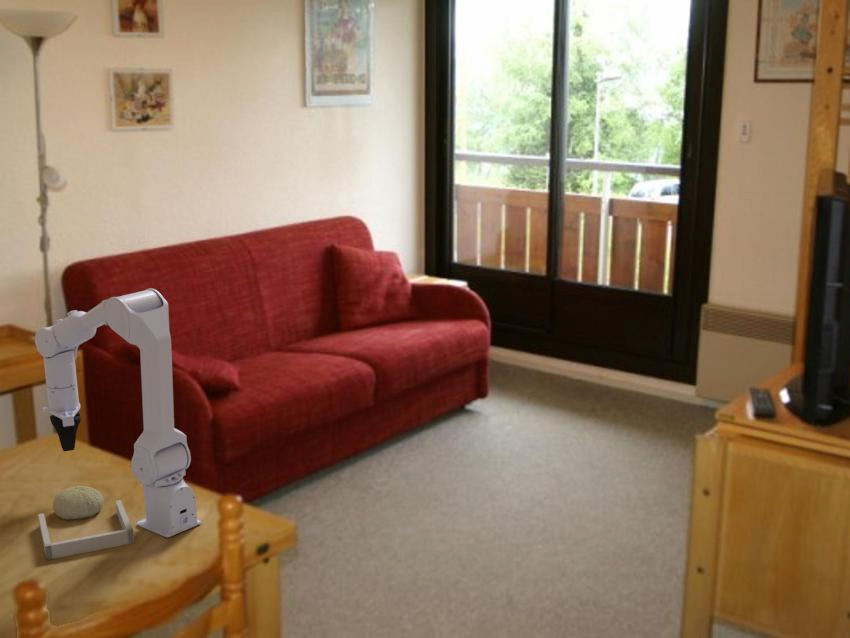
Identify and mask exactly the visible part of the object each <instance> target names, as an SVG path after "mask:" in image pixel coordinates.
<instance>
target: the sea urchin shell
mask: <svg viewBox="0 0 850 638" xmlns="http://www.w3.org/2000/svg"><path fill="white" fill-rule="evenodd" d="M104 502H105V501H104V496H103V494H102V493H101V492H100V491H99V490H98V489H96V488H93V487H91V486H85V485H77V486H71V487H67V488H65V489H63V490H61V491H60V492H58V493H57V494H56V495H55V496H54V499H53V502H52V510H53V511H54V513H55V514H56V516H57V517H59V518H60V519H62V520H78V519H79V520H80V519H84V518H91V517H93V516H94V515H96V514H97V513H99V512H100V511H101V509H102V508H103V506H104Z"/></svg>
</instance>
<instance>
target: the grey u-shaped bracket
mask: <svg viewBox="0 0 850 638" xmlns="http://www.w3.org/2000/svg"><path fill="white" fill-rule="evenodd" d="M115 511H116V513H115V514H116V516H117V518H118V520H119V523H120V525H121V529H119V530H114V531H108V532H104V533H100V534H98V533H97V534H93V535H88V536H83V537H82V536H81V537H78V538H77V537H76V538H72V539H66V540H61V541H55V542H51V539H50V534H49V528H48V526H47V521H46V517H45V514H44V513H38V514H37V516H38V517H37V518H38V524H39V530H40V536H41V540H42V544H43V548H44V549H43V550H44V555H45V558H46V560H47V561H48V560H53V559H58V558H63V557H67V556H75V555H79V554H85V553H88V552H89V553H90V552H94V551H95V552H96V551H99V550H105V549H111V548H116V547H120V546H127V545H131V544H135V535H134V534H135V533H134V529H133V527H132V525H131V521H130V519H129V517H128V514H127V512H126V510H125V507H124V505H123V501H122V499H118V500H115Z"/></svg>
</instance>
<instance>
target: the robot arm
mask: <svg viewBox="0 0 850 638" xmlns="http://www.w3.org/2000/svg"><path fill="white" fill-rule="evenodd" d="M169 314H170V313H169V303H168V300H166V299H165V297H164V296H163V295H162V294H161V293H160V292H159V290H157V289H156V288H152V287H151V288H147V289H145V290H141V291H137V292H133V293H128V294H123V295H121V296H112V297H109V298H108V299H104V300H102V301H101V302H100V303H99V304H97V305H96V306H95V307H93V308H91V309H90V310H88V311H87V312H86V311H83V310H79V311H78V310H77V309H75V310H70V311H69V312H67V314H66V315H67V317H66V316H65V318H60V319H57V320H56V319H55V321H54V324H53V325H51V326H47V327H40V328H39V329H38V330H37V331H36V333H35V336H34V342H35V347H36V349H37V352H38V353H39V355H40V356H42V357H43V365H44V366H43V367H44V374H45V375H44V376H45V385H46V394H47V403H48V406H44V407H42V413H43V414H51V415H50V416H49V419H50V423H51V425H52V426H53V428H54V429H55V430H56V433H57V435H58V436H57V437H58V440H59V443H60V446H61V449H62V452H69V451H70V452H71V451H74V450H75V447H76V442H77V441H76V439H77V433H78V427H79V425H80V423H81V421H82V417H81V413H80V409H81V403H80V398H79V389H78V387H79V386H78V379H77V371H76V370H77V369H76V368H77V367H76V360H77V358H78V349H79V347H80V345H82V344H83V343H85V342H87V341H89V340H91V339H92V338H94V337H95V335H96V333H97V330H98V329H97V328H99V327H101V326H103V325H105V326H108V327H109V328H110V329H111V330H113V332H115V333H116V334H117V335H119V336H120V337H121V338H123V340H125V341H126V342H127V343H129V344H130V345H135V346H136V347H138V349H139V351H140V352H139V353H140V354H139V355H140V377H141V397H142V398H141V399H142V400H141V401H142V417H143V418H142V420H143V421H142V422H143V423H142V424H143V431H142V433H141V434H140V436H138V438H137V440H136V441H135V442H134V443H133V456H132V457H131V471H132V475H133V476H134V477H135V479H136V480H137V481H138V482H139V484H142V487H143V499H144V511H145V518H143V519H140V520H139V521H137V522H136V526H138V527H141V528H143V529H146V530H148V531H150V532H152V533H155V534H157V535H160V536H162V537H164V538H171V537H173V536H175V535H178V534H179V533H182V532H184V531H186V530H189V529H191V528H194V527H197V526H198V525H200V524H202V521H201V520H200V519H198V515H197V514H198V513H197V503H196V502H197V500H196V494H195V492H194V489H193V488H192V487H190V486H189V485H188V484H187V483H186V482H185V479H184V476H186V470H187V469H188V468H189V466H190V465H191V461H192V456H191V451H190V449H189V446H188V442H187V440H188V439H187V437H188V436H187V435H186V434H185V433H184V432H183V431H181V430H179V429H177V428H175V417H174V416H175V413H174V412H175V411H174V407H175V406H174V386H173V384H174V382H173V359H172V357H173V356H172V338H171V337H172V336H171V332H170V315H169Z"/></svg>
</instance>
